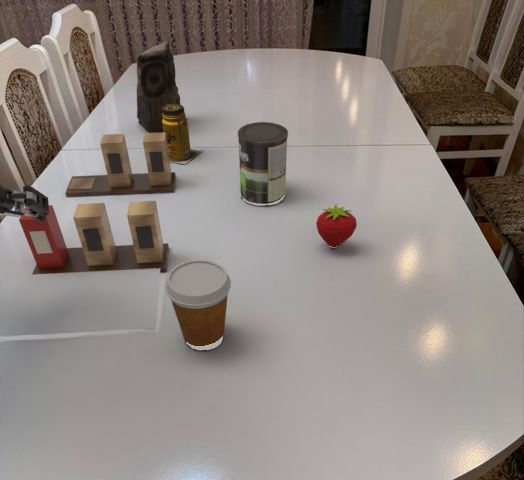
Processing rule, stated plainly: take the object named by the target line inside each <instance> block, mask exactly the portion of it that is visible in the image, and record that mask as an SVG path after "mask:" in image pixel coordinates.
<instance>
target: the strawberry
mask: <svg viewBox="0 0 524 480" xmlns="http://www.w3.org/2000/svg"><path fill="white" fill-rule="evenodd" d="M338 204H339V203H336V204H334V207H333V208H332V207H327V208H322V211H323V212H322V213H321V214H320V215H318V216H317V220H316V222H315V225H316V230H317V233H318V234H319V236H320V237H321V238H322V240H323V241H324V243H326V244H327V245H328V247H329V246H332V247H336V246H338V247H339V246H341V245H342V244H344V243H345V242H346V241H348V240H349V239H350V238H351V237H352V236H353V234H354V232H355V231H356V229H357V225H358V224H357V219H356V217H355V216H354V215H353V214H352V213H351V212H352V211H353V210H352V209H351V210H350V209H345V206H342V207H338V206H337V205H338Z"/></svg>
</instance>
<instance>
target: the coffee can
mask: <svg viewBox="0 0 524 480" xmlns="http://www.w3.org/2000/svg"><path fill="white" fill-rule="evenodd" d="M288 137H289V130H288V129H287V128H286V127H285V126H284V125H281V124H279V123H275V122H269V121H257V122H251V123H248V124H247V123H246V124H245V125H242V126H241V127H240V128H239V129H238V131H237V138H238V155H239V156H238V159H239V160H238V161H239V185H240V186H239V187H240V190H239V191H240V193H241V196H242V197H243V198H244V199H245V200H246V201H248V202H251V203H256V204H269V203H273V202H276V201H278V200H280V199H281V198H282V197H283V196H284V195H285V194H286V183H287V153H288ZM241 196H240V199H241V200H242V198H241ZM284 200H285V198H284V199H283V200H282V201H281V202H279V203H277V204H273V205H268V206H267V207H272V206H275V205H278V204H280V203H283V201H284ZM242 201H243V202H244V203H245V204H248V205H251V206H254V207H258V206H257V205H252V204H249V203H247V202H245V201H244V200H242Z"/></svg>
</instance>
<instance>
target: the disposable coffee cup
mask: <svg viewBox="0 0 524 480" xmlns="http://www.w3.org/2000/svg"><path fill="white" fill-rule="evenodd" d="M231 287H232V281H231V278H230V276H229V274H228V273H227V271H226V268H225V267H223V266H222V265H221V264H220V263H218V262H215V261H213V260H208V259H191V260H186V261H184V262H180V263H178V264H177V265H175V266H174V267H172V269H171V270H169V272H168V273H167V276H166V280H165V282H164V292H165V294H166V296H167V297H168V298H169V299H170V301H171V305H172V307H173V311H174V313H175V316H176V319H177V322H178V325H179V328H180V330H181V334H182V337H183V339H185V340H184V342H185V341H186V342H188V343H189V344H191V345H194V346H205V345H209V344H212V343H215V342H216V341H218V340H219V339H220V338H221V337H222V336H223V334H224V335H225V329H226V328H225V327H226V320H227V319H226V316H227V305H228V296H229V295H228V294H229V293H230V289H231Z"/></svg>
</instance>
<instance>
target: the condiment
mask: <svg viewBox="0 0 524 480" xmlns="http://www.w3.org/2000/svg"><path fill="white" fill-rule="evenodd" d="M180 104H181V103H180ZM180 104H168V105H165V106H164V107H163V108H162V113H163V120H162V125H163V131H164V132H166V138H167V145H168V152H169V159H170V163H176V164H180V165H181V164H182V165H186V164H187V163H189V162H190V161H191V160H193V159H195V157H197V156H198V155H200V154H201V152H203V150H200V149H199V150H198V149H193V148H191V141H190V132H189V131H190V130H189V124H188V118H187V117H186V112H185V107H184V106H183V105H182V104H181V105H180Z"/></svg>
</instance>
